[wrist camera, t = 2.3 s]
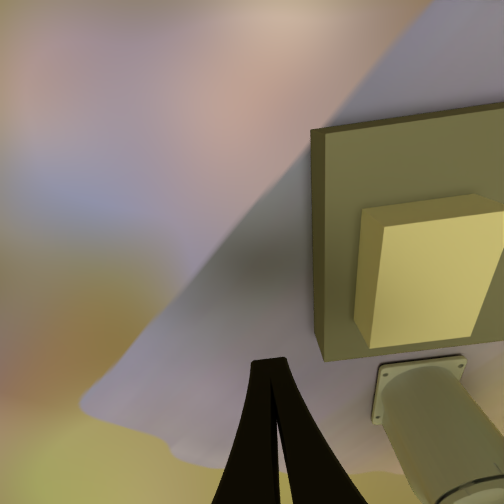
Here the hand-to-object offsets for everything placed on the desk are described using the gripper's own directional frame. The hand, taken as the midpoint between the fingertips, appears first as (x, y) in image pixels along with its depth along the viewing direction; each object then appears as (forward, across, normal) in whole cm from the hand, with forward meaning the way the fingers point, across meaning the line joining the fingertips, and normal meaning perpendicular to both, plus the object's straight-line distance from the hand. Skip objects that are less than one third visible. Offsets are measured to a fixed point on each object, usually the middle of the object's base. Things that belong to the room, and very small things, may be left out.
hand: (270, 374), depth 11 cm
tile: (+5, -9, 0) cm, 10 cm away
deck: (+9, -11, 0) cm, 14 cm away
